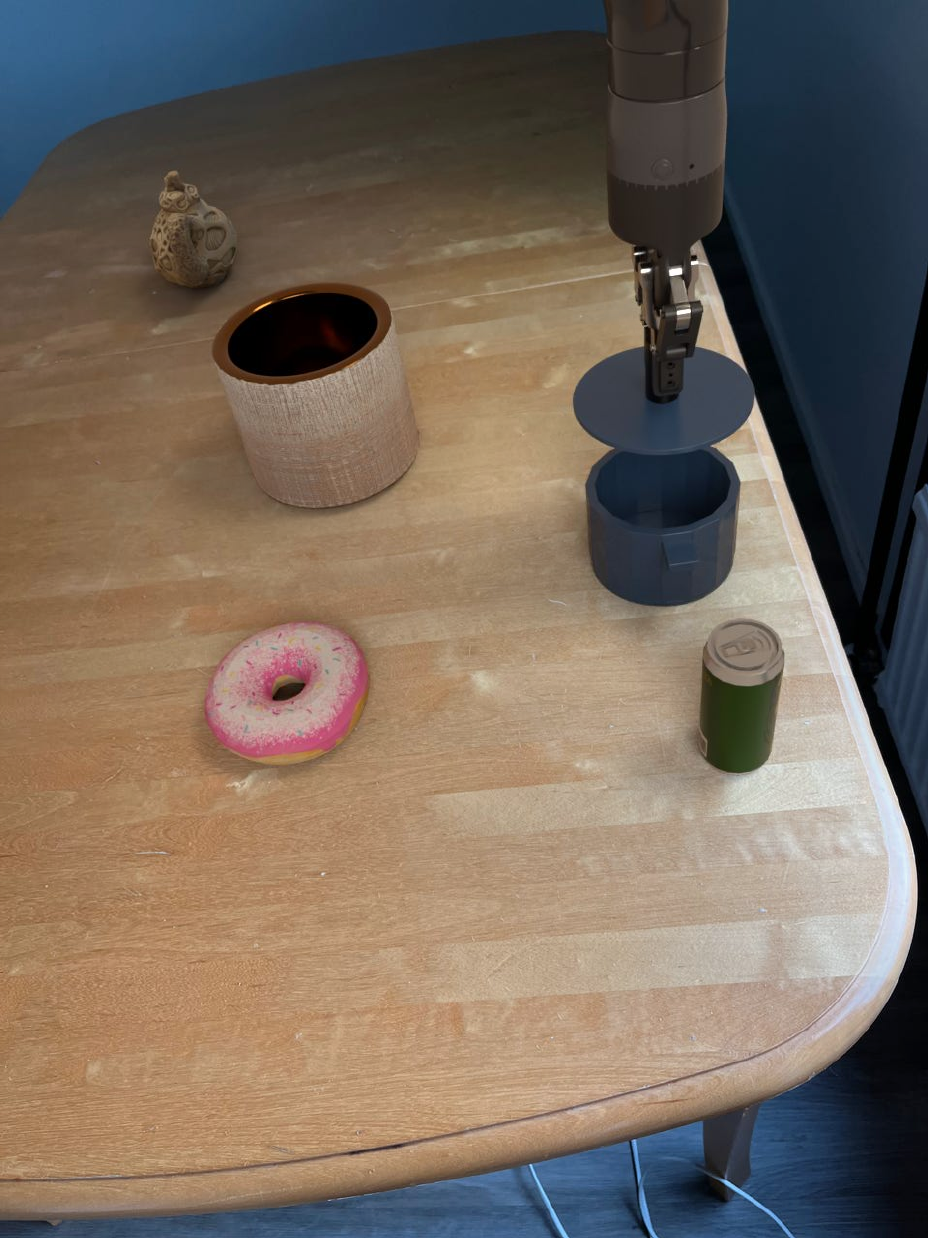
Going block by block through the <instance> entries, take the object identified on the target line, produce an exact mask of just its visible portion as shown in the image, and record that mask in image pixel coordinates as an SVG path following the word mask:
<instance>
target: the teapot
mask: <svg viewBox="0 0 928 1238" xmlns="http://www.w3.org/2000/svg"><path fill="white" fill-rule="evenodd" d="M163 181H164V184H165V187H164V189H163V190H161V192H160V194H159V198H158V202H159V205H160V208H161V209H160V210H159V212H158V214H157V215H156V217H155V221H154V224H153V226H152V229H151V235H150V237H149V244H148V247H149V250H150V253H151V258H152V261H153V266H154V270H155V271H156V272H157V274H158V275H160V276H161V278H163V279H164V280H166V281H168V282H169V283H172V284H176V285H178V286H179V285H180V286H182V287H186V288H190V289H193V290H194V289H195V290H196V289H203V288H208V287H213V286H216V285H219V284H220V283H221V282H222V281H224V279H225V277H226V276H227V275H228V274H229V272H230V271H231V269H232V267H233V264H234V262H235V261H236V258H237V256H238V254H239V238H238V234H237V233H236V230H235V228H234V226H233V224H232V222H231V220H230V219H229V217H228V216H226V214H225V213H224V212H223V211H222V210H220V209H218V208H217V207H216V206H212V205H209V204H208V203H207V202H206V201H205V200H204V199H203V198H202V197H201V194H200V192H199V191H198V188H197V187H196V185H193V184H190V183H184V182H183V181H182V179H181V177H180V175H179V172H178V171H177V170H172V171H169V172H168V173H167V174H166V176H165V177H164V178H163Z"/></svg>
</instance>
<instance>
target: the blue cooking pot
mask: <svg viewBox="0 0 928 1238" xmlns="http://www.w3.org/2000/svg"><path fill="white" fill-rule="evenodd" d="M737 471H738V470H737V469H736V466H735V464H734V462H733V461H732V460H730V459H729V458H728V457H727V456H726V455H725V454H723V453H722V452H721V450H718V448H716V447H715V446H713V445H711V446H709V447H706V448H703V449H700V450H696V451H692V452H687V453H682V454H673V455H643V454H636V453H630V452H626V451H622V450H618V449H615V448H611V449H609V450H608V451H607V452H606V453H605V454H603V456H601V458H600V459H598V460H597V461H596V462H595V463H594V464H593V465H592V466H591V468H590V471H589V473H588V476H587V479H586V482H585V483H584V491H585V504H586V505H585V506H586V507H585V508H586V525H587V537H588V540H587V541H588V553H589V556H590V565H591V568H592V571H593V574H594V575H595V578H596V579H597V580H598V582H599V583H600V584H601V585H602V586H604V588H605V589H606V590H607V591H609V592H610V593H612V594H613V595H614V596H616V597H618V598H620V599H622V600H625V601H627V602H630V603H633V604H637V605H640V606H641V605H642V606H647V607H657V608H658V607H659V608H660V607H663V608H664V607H665V608H666V607H675V606H681V605H686V604H689V603H693V602H696V601H698V600H701V599H703V598H705V597H707V596H708V595H710V594H712V593H713V592H715V591H716V590H717V589H718V588H719V587H720V586H722V585H723V583H724V582H725V581H726V579H727V578H728V576H729V574H730V573H731V571H732V567H733V565H734V558H735V553H736V546H737V533H738V523H739V522H738V521H739V509H740V498H741V483H742V481H741V480H740V477H739V474H738V472H737Z"/></svg>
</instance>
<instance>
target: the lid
mask: <svg viewBox="0 0 928 1238" xmlns="http://www.w3.org/2000/svg"><path fill="white" fill-rule="evenodd" d="M650 345H651V332H649V333H648V334H647V335H646V337H645V365H644V345H643V346H638V347H637V346H636V347H633V348H630V349H626V350H623V351H620V352H617V353H614V354H612V355H610V356H608V357H606V358H604V359H602V360H601V361H599V362H597V363H596V364H594V365H593V366H592V367H591V368H589V370H587V371H586V372H585V373H584V374H583V376H582V377H581V378H580V379H579V380H578V383H577V384H576V386H575V390H574V392H573V397H572V407H573V413H574V416H575V419H576V421H577V423H578V424H579V426H580V427H581V428H582V429H583V430H584V431H585V432H586V433H587V434H588V435H589V436H590V437H591V438H593V439H594V440H596V441H598V442H599V443H602V444H604V445H606V446H608V447H609V448H612V449H614V448H615V449H618V450H622V451H626V452H630V453H636V454H643V455H673V454H682V453H687V452H692V451H696V450H700V449H703V448H706V447H709V446H713V445H714V446H715V445H716V444H718V443H720V442H722V441H724V440H726V439H727V438H729V437H730V436H732V435H734V434H735V433H736V432H737V431H739V430H740V429H741V428H742V427H743V426H744V424H745V423H746V422H747V421H748V419H749V417H750V416H751V414H752V411H753V409H754V407H755V398H756V394H755V393H756V392H755V386H754V384H753V380H752V379H751V377H750V375H749V374H748V373H747V371H746V370H745V369H744V368H743V367H742V366H741V365H740V364H739V363H737V362H736V361H734V360H733V359H731V358H730V357H728V356H726V355H725V354H722V353H719V352H717V351H714V350H712V349H708V348H705V347H701V346H695V351H694V355H693V357H690V358H684V375H683V390H682V391H681V392H680V393H678V394H673V395H667V396H660V397H659V396H656V395H655V394H654V392H653V389H652V352H651V351H650Z"/></svg>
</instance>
